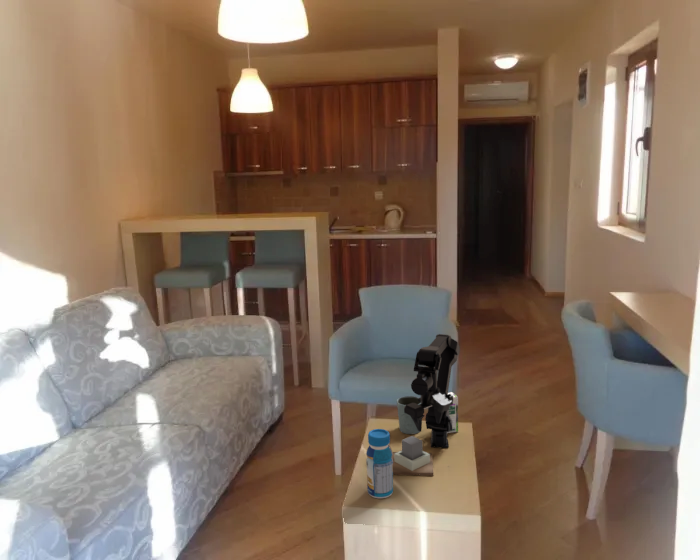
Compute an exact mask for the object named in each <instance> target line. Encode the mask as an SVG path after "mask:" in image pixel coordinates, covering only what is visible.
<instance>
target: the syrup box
mask: <svg viewBox="0 0 700 560" xmlns="http://www.w3.org/2000/svg"><path fill="white" fill-rule="evenodd" d="M449 393H451V394H452V395H453V405H450V407H449V416H450V418H451V420H452V431H449V432H447V434H452V433H458V432H459V397H458V396H457V394H455V393H454V392H452V391H450V392H448V394H449Z"/></svg>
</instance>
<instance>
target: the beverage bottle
mask: <svg viewBox="0 0 700 560" xmlns="http://www.w3.org/2000/svg"><path fill="white" fill-rule="evenodd" d="M367 439H368V441H367V442H368V445H369V446H368V447H367V449H366V453H365V454H366V459H365V464H366V465H365V466H366V478H367V479H366V480H367V481H366V482H367V483H366V484H367V485H366V486H367V487H366V489H367V490H366V491H367V493H368V495H369V496H371V497H372V498H374V499H387V498H389V497H390V496H392V495H393V492H394V475H393V458H392V454H393V450H392V448H391V446H390V443H391V434H390V432H389V431H388V430H387V429H383V428H375V429H372V430H369V432H368V434H367Z"/></svg>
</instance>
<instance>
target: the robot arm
mask: <svg viewBox="0 0 700 560" xmlns="http://www.w3.org/2000/svg"><path fill="white" fill-rule="evenodd" d="M460 348H461V347H460V345H459V342H458V341H457V340H455V339H453V338H452V336H451V335H449V334H446V333H445V334H444V333H443V334H441V333H438V334H436V336H435V338H434V340H433V341H432V342H431V343H430V344H429V345H428V346H423V347H421V348H419V350H418V351H417V352H416V355H415V360H414V367H413V372H417V374H416V377H415V378H414V379H413V380H412V382H411V384H410V388H411V391H413V393H414V394H416V395H418V396H420V397H419V398H418V401H419V402H421V404H419V405H418V404H416V403H410V404H408V405H406V406H405V407H404V413H406V414H408V415H410V416H411V418H412V420H413V421H414V423H415V425H416V427H417V429H418V431H419V433H421V432H422V427H423V424H422V423H423V418H424V417H425V426H426V427H425V428H426V429H427V430H431V438H430V441H429V442H430V448H443V449H446V448H450V446H449V445H450V444H449V439H448V433H447V432H449V431H452V420H451V418H450V416H449V407H450V405H453V395H452V394H451V393H450V392H449V388H450V381H451V376H452V374H451V373H452V368H453V365H455V363H457V361H458V357H459V355H460V352H461V349H460ZM448 393H449V394H448ZM426 409H427V412H426V414H424V413H425V410H426Z"/></svg>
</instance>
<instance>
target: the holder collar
mask: <svg viewBox="0 0 700 560" xmlns="http://www.w3.org/2000/svg"><path fill="white" fill-rule="evenodd" d="M396 452H397V453H394V457H395V462H396V463H398V464H400V465H402V466H404V467H406V468H408V469H409V470H411V471H413V470H415V469H417V468H419V467H421V466H424V465H426V464H428V463H430V454H428V453H429V452H427V451H424V450H423V456H421V457H419V458H417V459H414V460H410V459H408V458H406V457H404V456H402V449H401V450H399V451H396Z"/></svg>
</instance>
